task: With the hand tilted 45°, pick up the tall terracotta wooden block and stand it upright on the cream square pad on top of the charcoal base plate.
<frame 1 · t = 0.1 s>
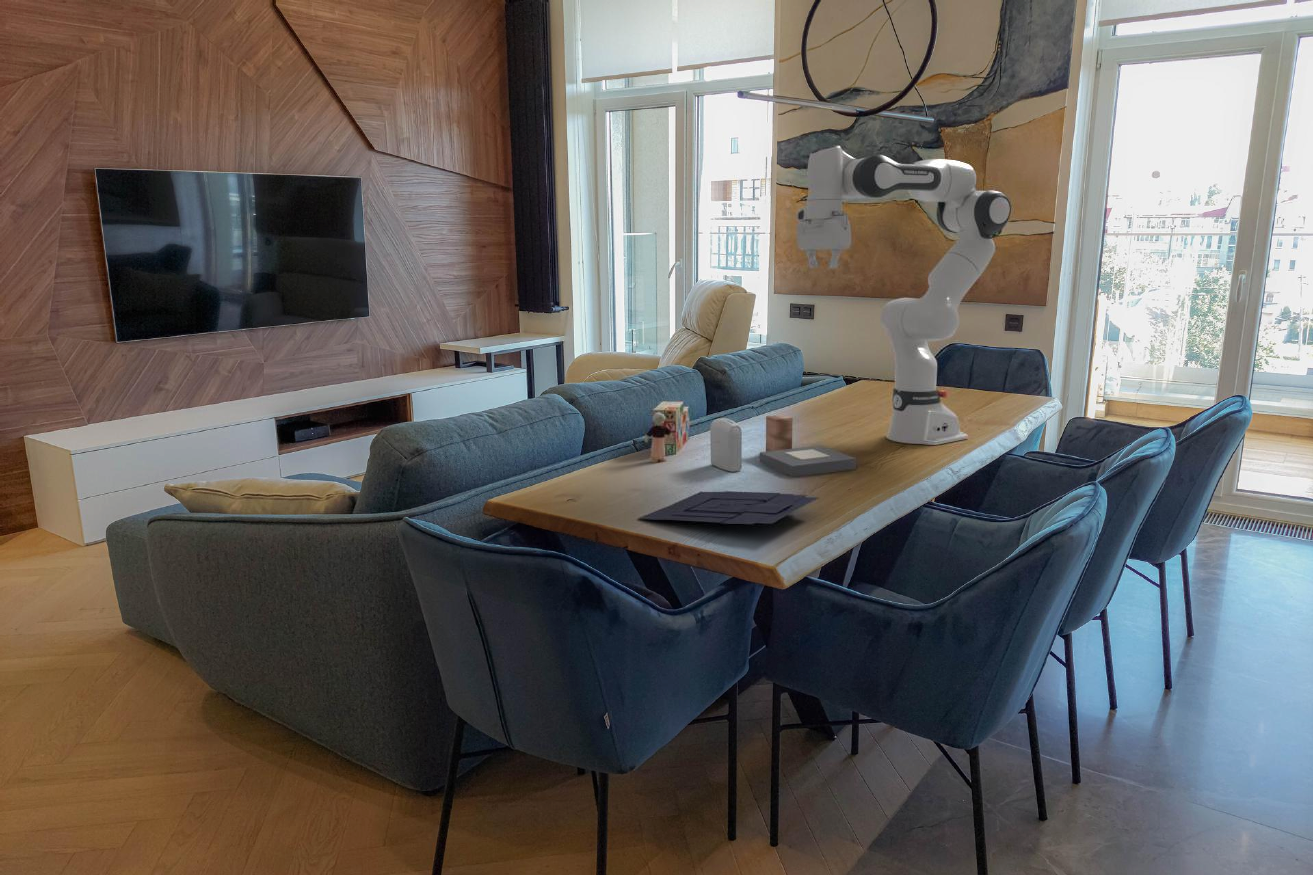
hand: (823, 267, 228), 48 cm above the table, fingers open, 8 cm apart
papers: (730, 518, 180), on the table
base plate: (806, 465, 221), on the table
terracotta block: (778, 454, 234), on the table
stack of blocks: (672, 446, 246), on the table
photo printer: (725, 468, 220), on the table
grandmother figurine: (659, 461, 229), on the table
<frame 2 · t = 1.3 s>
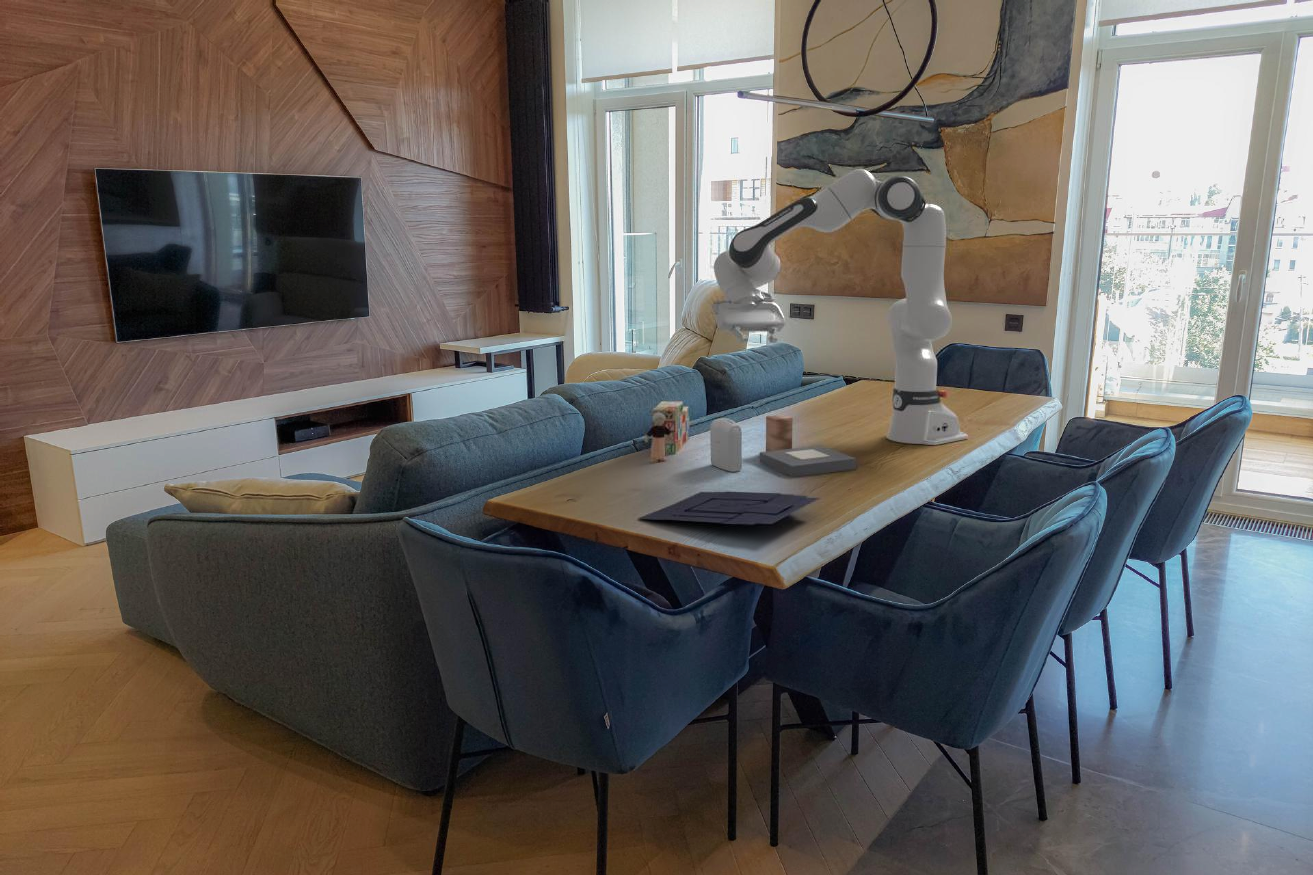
hand: (759, 341, 238), 29 cm above the table, fingers open, 8 cm apart
nothing on the table moved.
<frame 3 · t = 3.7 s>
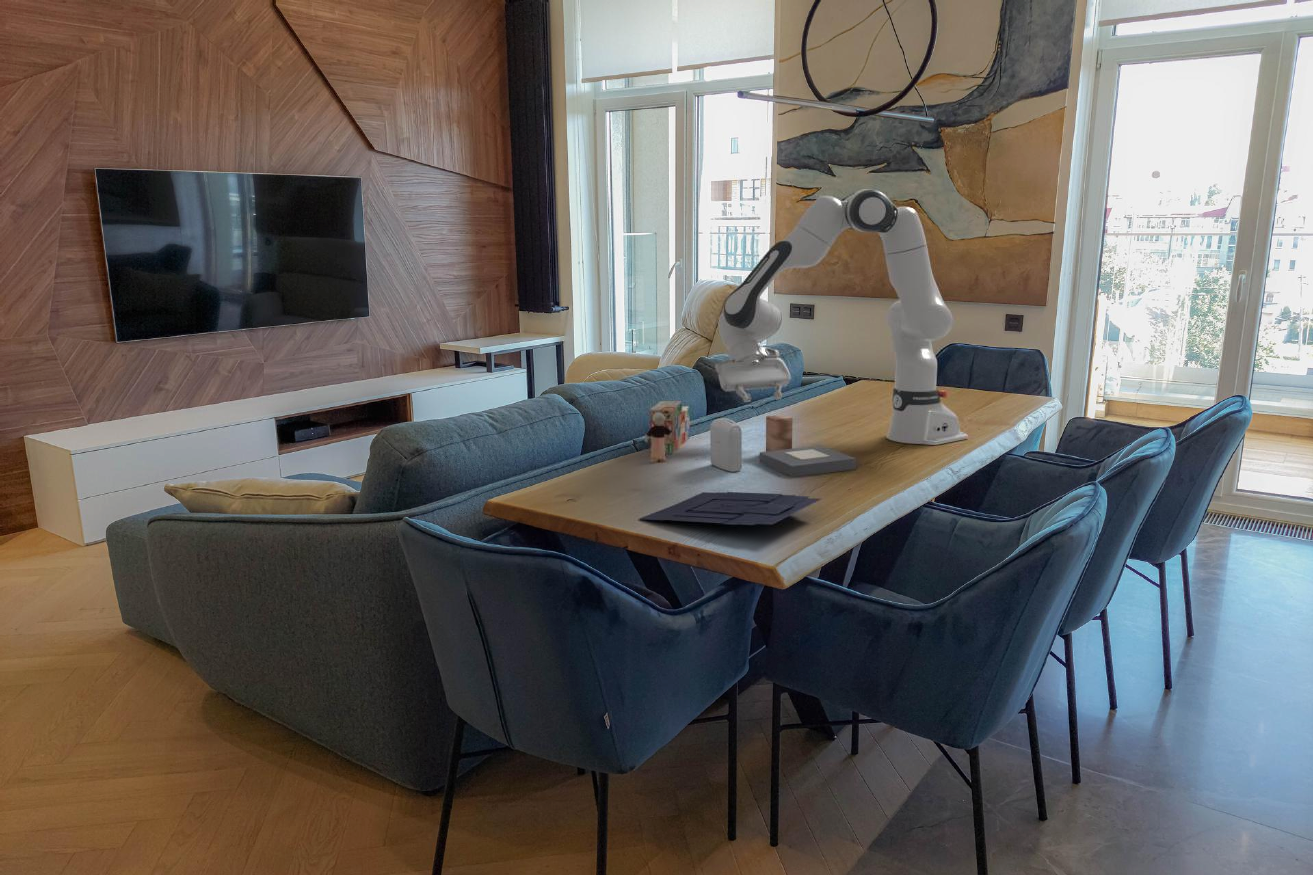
hand: (763, 399, 238), 13 cm above the table, fingers open, 8 cm apart
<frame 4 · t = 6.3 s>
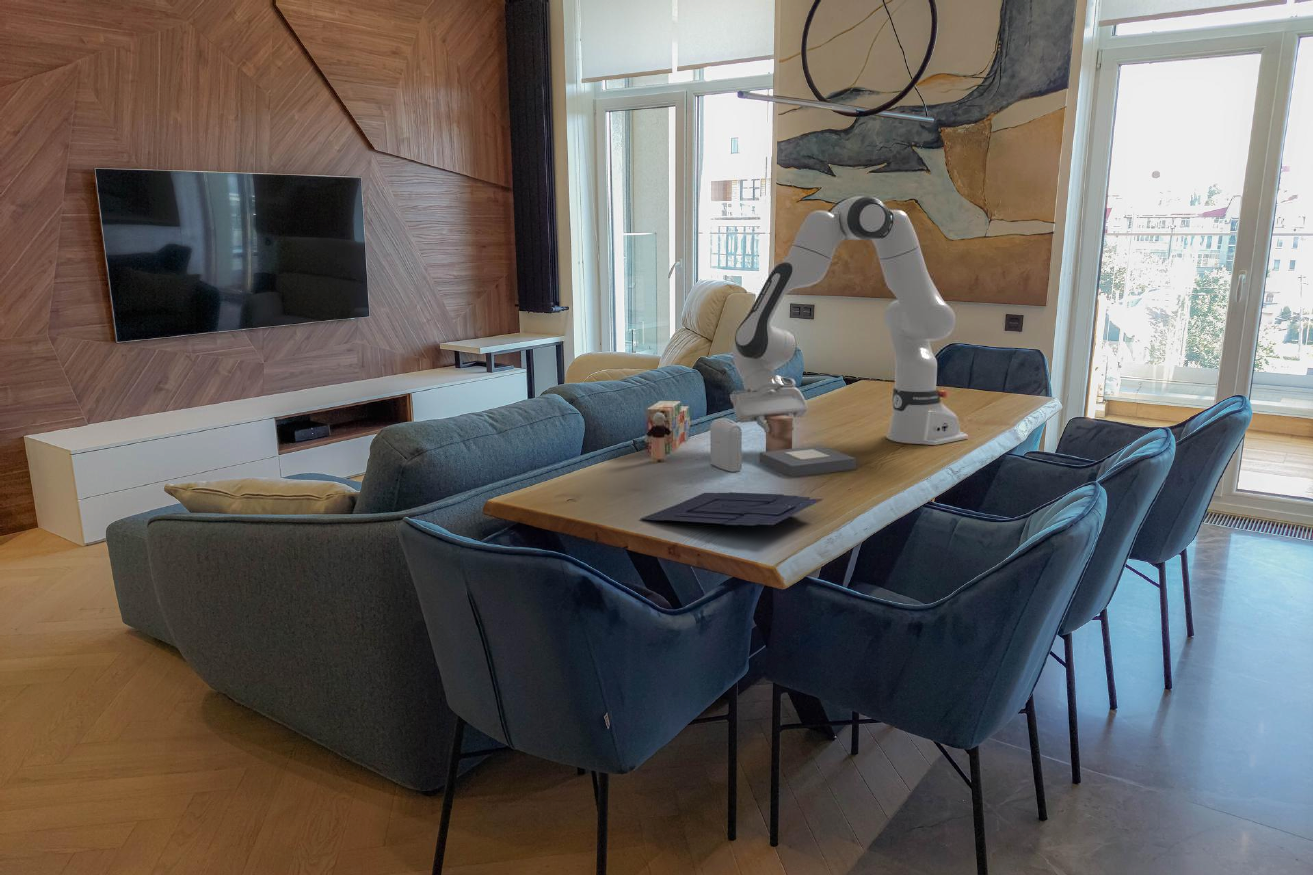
hand: (780, 430, 232), 6 cm above the table, fingers closed on terracotta block, 5 cm apart
terracotta block: (778, 454, 234), on the table, touching gripper
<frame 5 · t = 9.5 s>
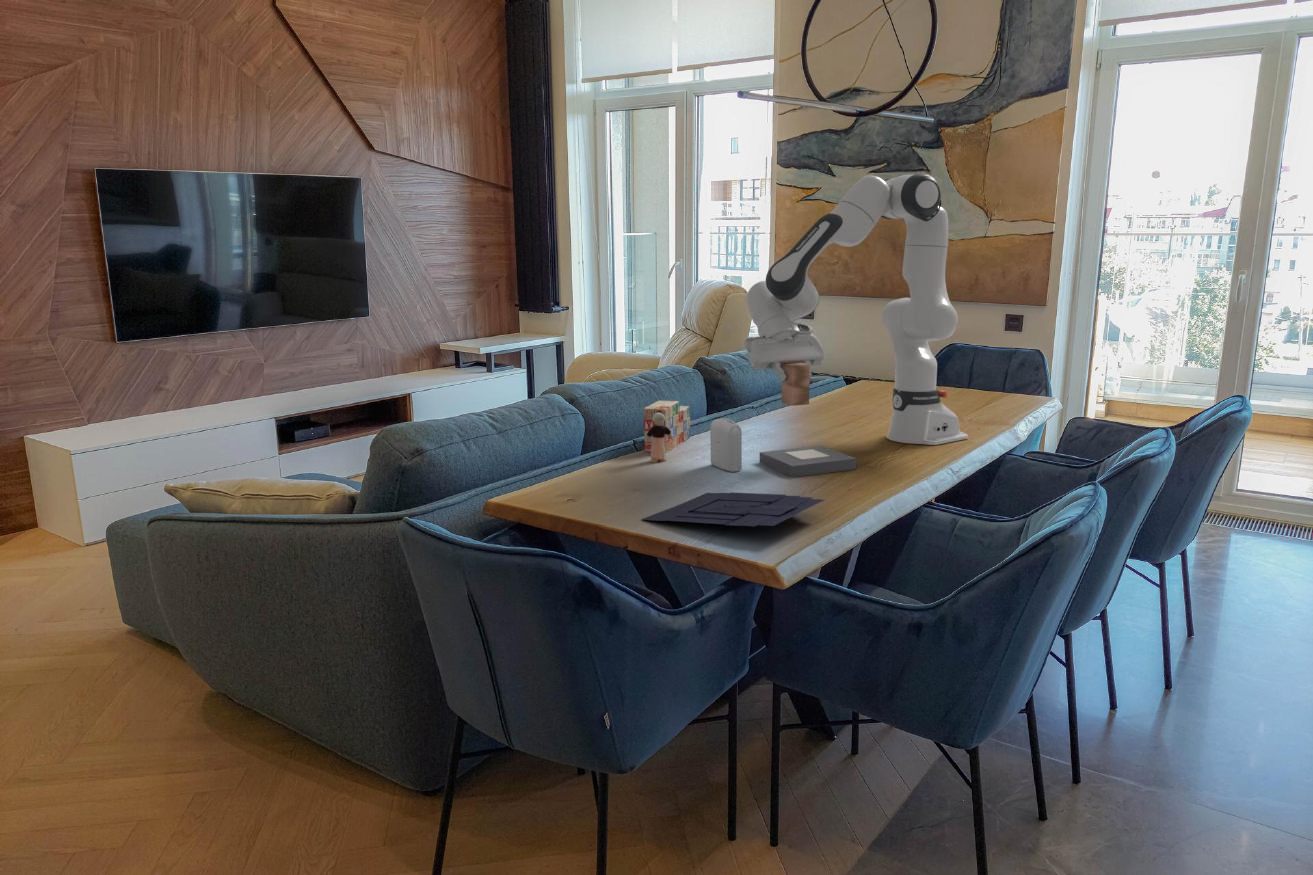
hand: (797, 378, 221), 21 cm above the table, fingers closed on terracotta block, 5 cm apart
terracotta block: (795, 403, 223), point 15 cm above the table, touching gripper
when the fingers open (10 cm above the table, at t = 13.1 s): terracotta block stays where it is, resting on base plate.
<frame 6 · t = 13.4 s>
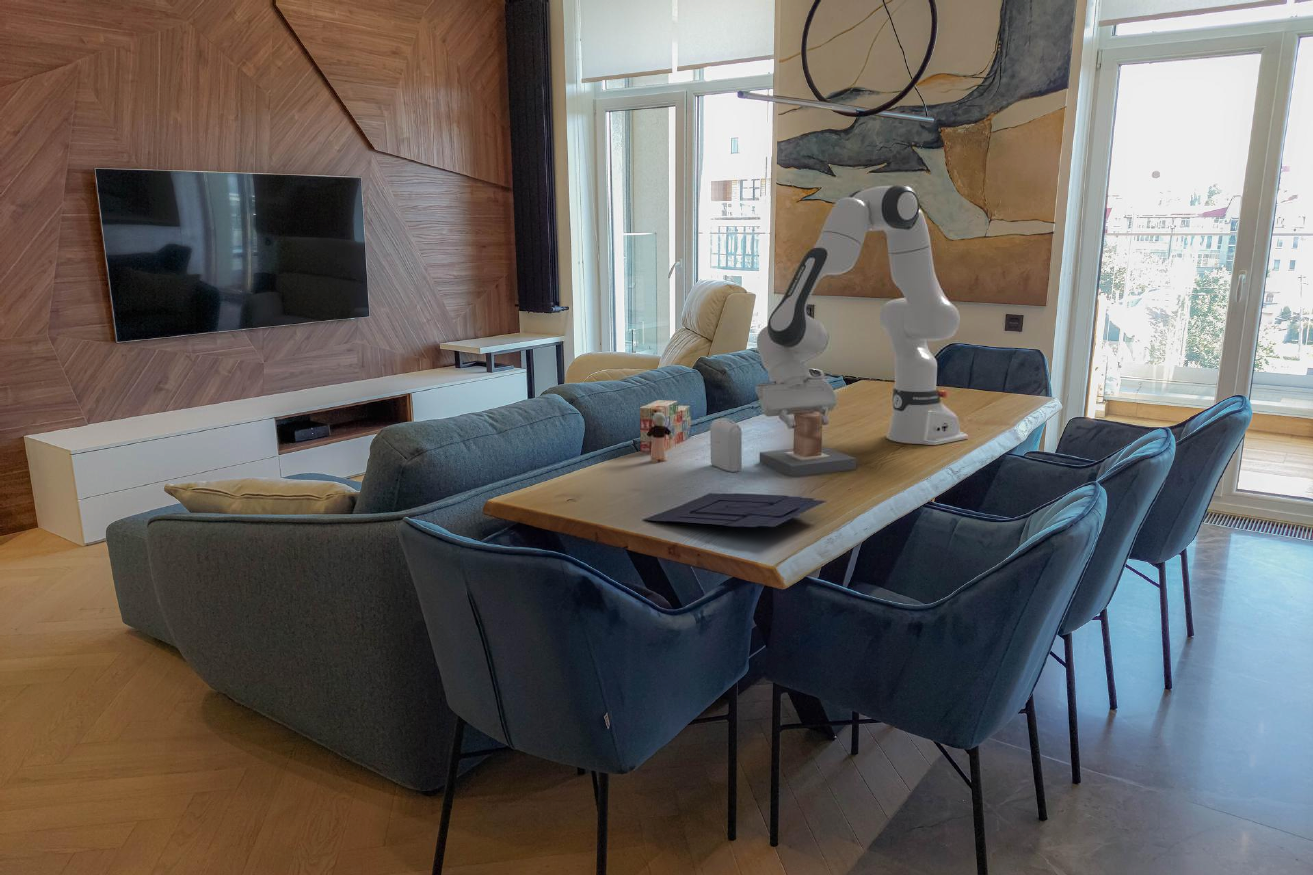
hand: (809, 425, 218), 10 cm above the table, fingers open, 8 cm apart
terracotta block: (807, 454, 220), point 3 cm above the table, touching base plate
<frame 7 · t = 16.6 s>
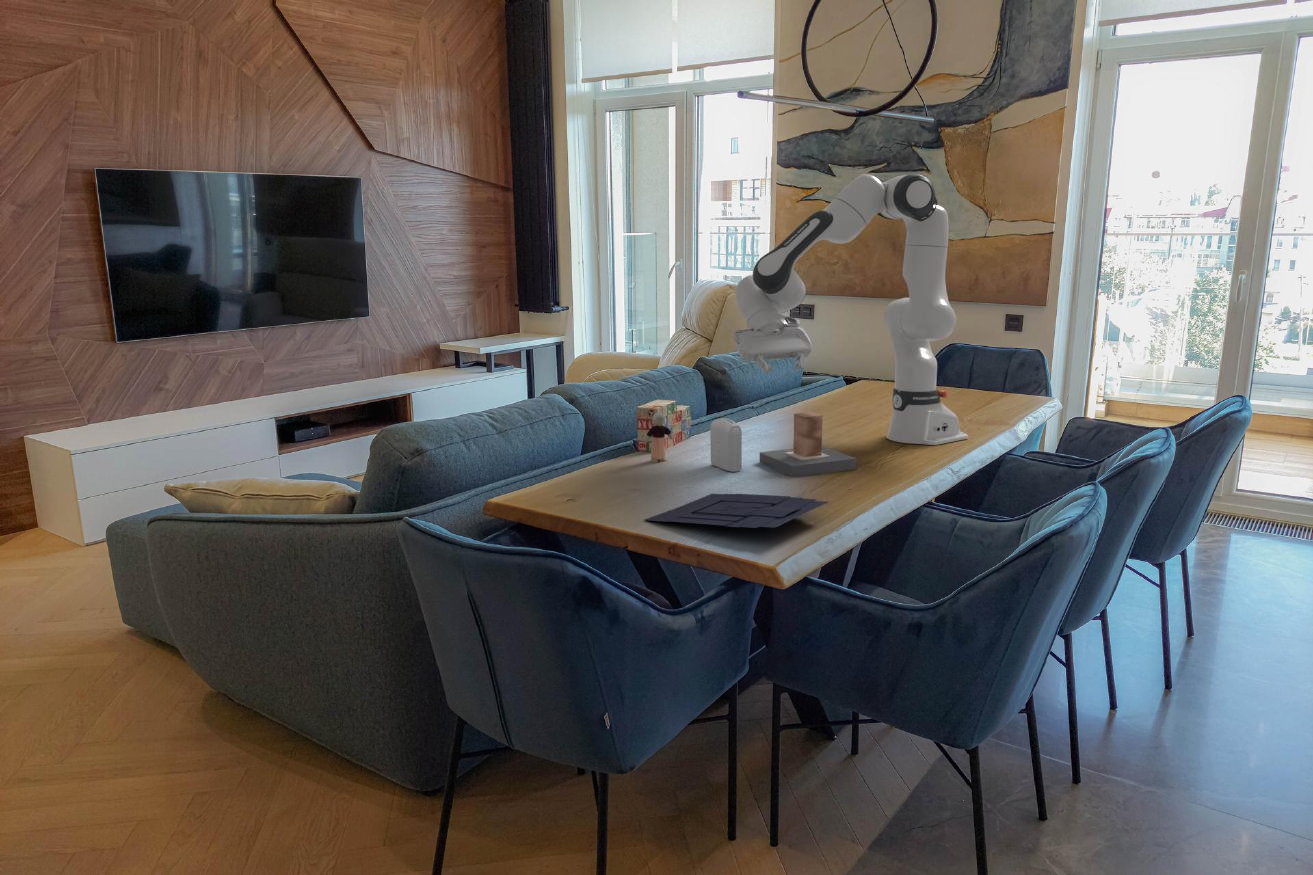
hand: (784, 370, 227), 23 cm above the table, fingers open, 8 cm apart
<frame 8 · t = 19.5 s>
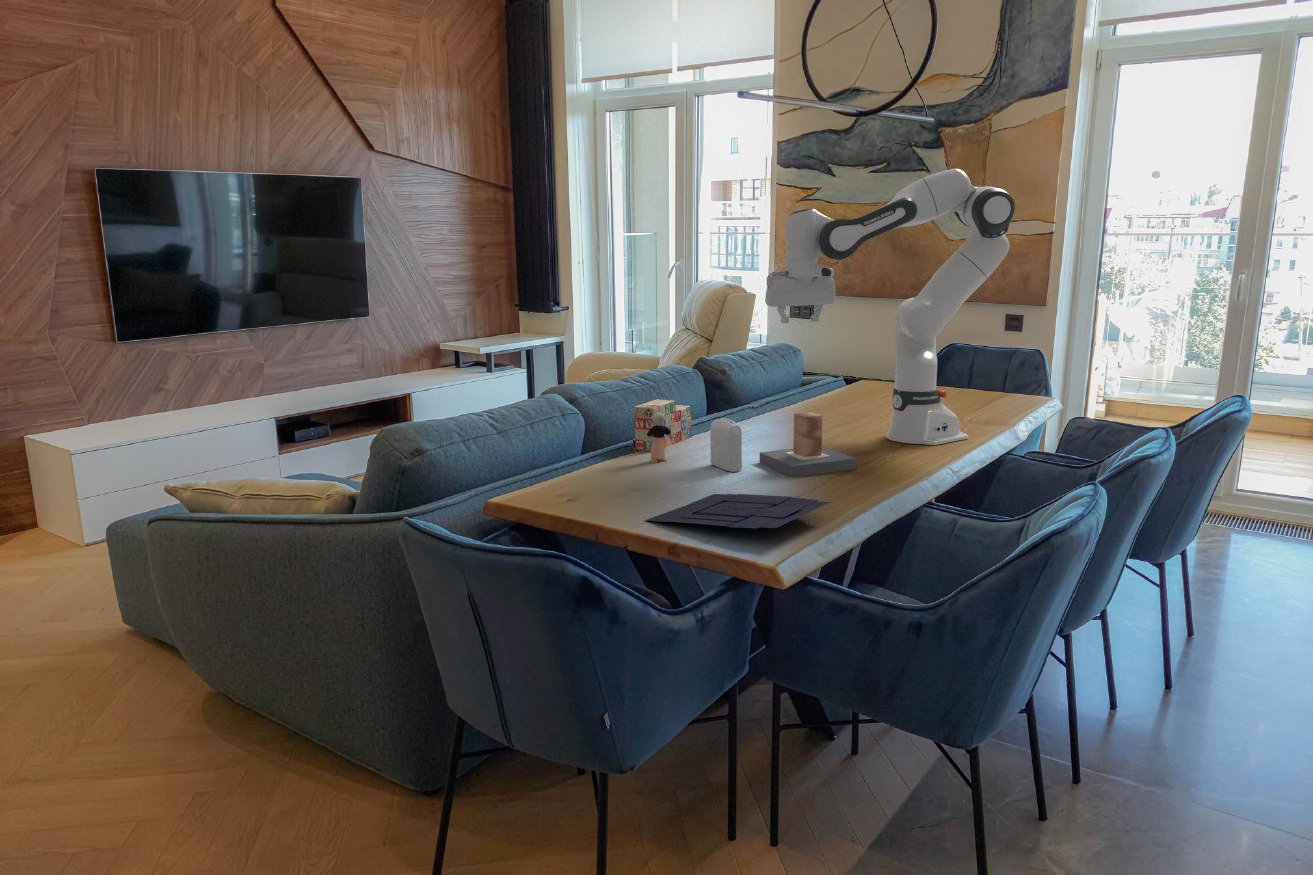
hand: (800, 322, 242), 33 cm above the table, fingers open, 8 cm apart
at the end: terracotta block 0.1 cm off-centre on the base plate, point 3.0 cm above the base plate's base; terracotta block tilted 0°; the gripper is holding nothing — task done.
